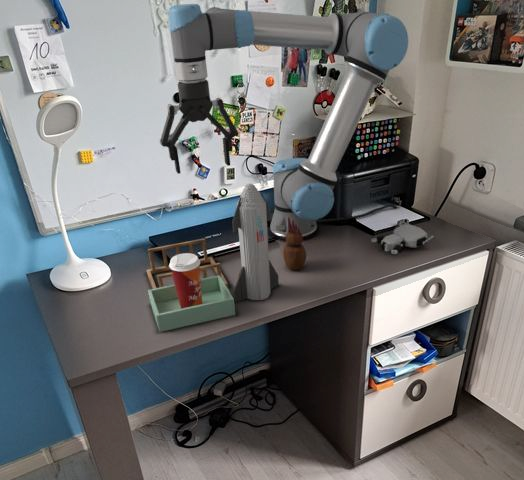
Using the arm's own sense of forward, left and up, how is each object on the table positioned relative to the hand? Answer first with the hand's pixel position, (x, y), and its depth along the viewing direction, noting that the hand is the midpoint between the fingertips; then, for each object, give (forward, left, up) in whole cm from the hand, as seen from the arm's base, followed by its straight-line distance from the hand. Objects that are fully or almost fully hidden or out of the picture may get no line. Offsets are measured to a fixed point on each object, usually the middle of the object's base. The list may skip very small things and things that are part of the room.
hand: (203, 168), depth 141 cm
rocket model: (-6, +22, -29) cm, 37 cm away
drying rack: (+10, +6, -29) cm, 31 cm away
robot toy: (-55, +13, -29) cm, 64 cm away
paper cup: (+12, +22, -28) cm, 38 cm away
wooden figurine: (-21, +12, -29) cm, 38 cm away
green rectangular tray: (+12, +22, -29) cm, 38 cm away
